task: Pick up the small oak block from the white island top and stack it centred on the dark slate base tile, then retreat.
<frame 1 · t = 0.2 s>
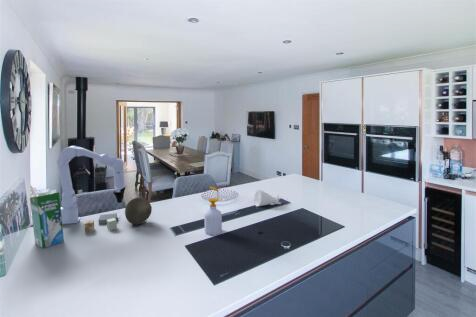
hand: (120, 200, 165), 10 cm above the kitchen island counter, tool pointing down, fingers open, 7 cm apart
cantaloupe: (139, 224, 155), on the kitchen island counter
sage block: (112, 228, 149), on the kitchen island counter
milk carton: (49, 242, 132), on the kitchen island counter
oak block: (89, 230, 146), on the kitchen island counter
rocket engine: (268, 205, 189), on the kitchen island counter
slate base: (108, 220, 160), on the kitchen island counter
soap bottle: (213, 232, 145), on the kitchen island counter
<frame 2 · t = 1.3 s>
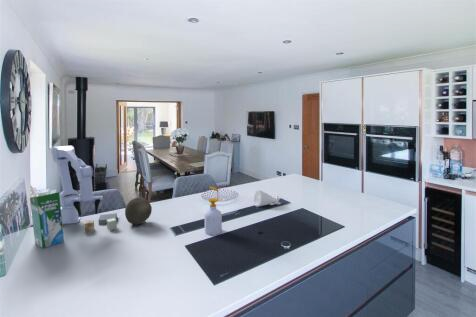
hand: (88, 214, 144), 9 cm above the kitchen island counter, tool pointing down, fingers open, 7 cm apart
nothing on the kitchen island counter moved.
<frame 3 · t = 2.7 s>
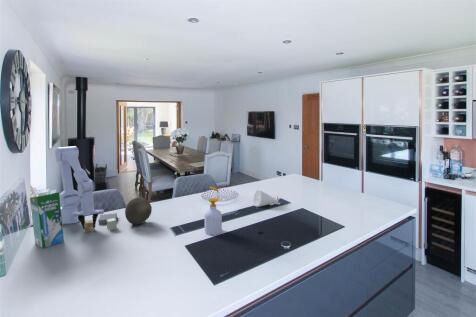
hand: (89, 228, 146), 1 cm above the kitchen island counter, tool pointing down, fingers closed on oak block, 4 cm apart
oak block: (89, 230, 146), on the kitchen island counter, touching gripper
everything else where it was.
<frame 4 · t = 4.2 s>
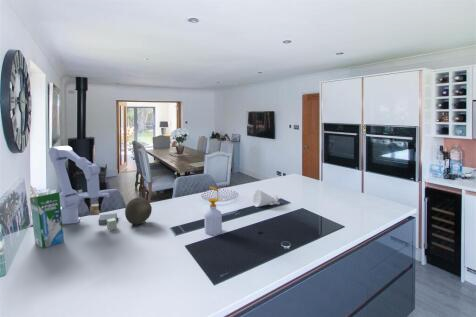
hand: (95, 210, 149), 9 cm above the kitchen island counter, tool pointing down, fingers closed on oak block, 4 cm apart
oak block: (95, 213, 149), point 8 cm above the kitchen island counter, touching gripper
everything else where it was.
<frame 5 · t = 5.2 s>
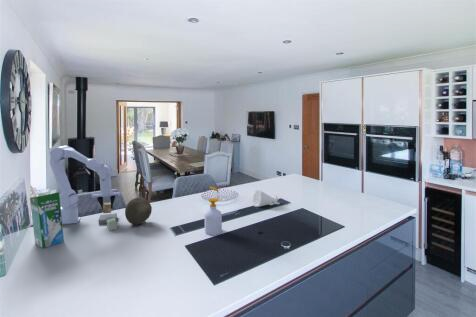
hand: (107, 208, 159), 7 cm above the kitchen island counter, tool pointing down, fingers closed on oak block, 4 cm apart
oak block: (107, 211, 159), point 5 cm above the kitchen island counter, touching gripper
everything else where it was.
when the fingers open (5 cm above the kitchen island counter, at t = 5.9 s): oak block stays where it is, resting on slate base.
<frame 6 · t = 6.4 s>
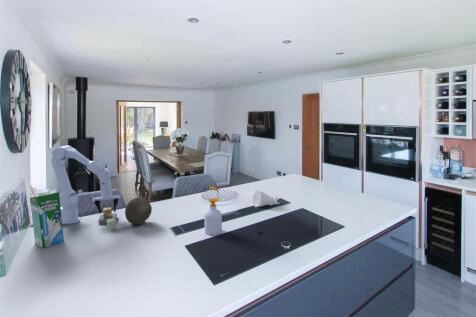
hand: (107, 212, 159), 5 cm above the kitchen island counter, tool pointing down, fingers open, 7 cm apart
oak block: (107, 216, 159), point 2 cm above the kitchen island counter, touching slate base
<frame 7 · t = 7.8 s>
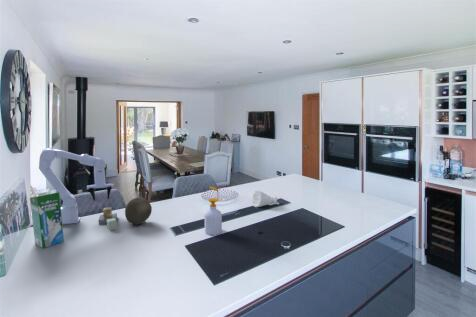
hand: (101, 199, 166), 10 cm above the kitchen island counter, tool pointing down, fingers open, 7 cm apart
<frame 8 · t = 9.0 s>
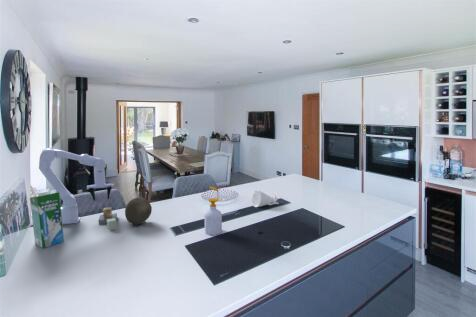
hand: (101, 199, 166), 10 cm above the kitchen island counter, tool pointing down, fingers open, 7 cm apart
at the end: oak block 0.3 cm off-centre on the slate base, point 2.5 cm above the slate base's base; oak block tilted 0°; the gripper is holding nothing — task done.
